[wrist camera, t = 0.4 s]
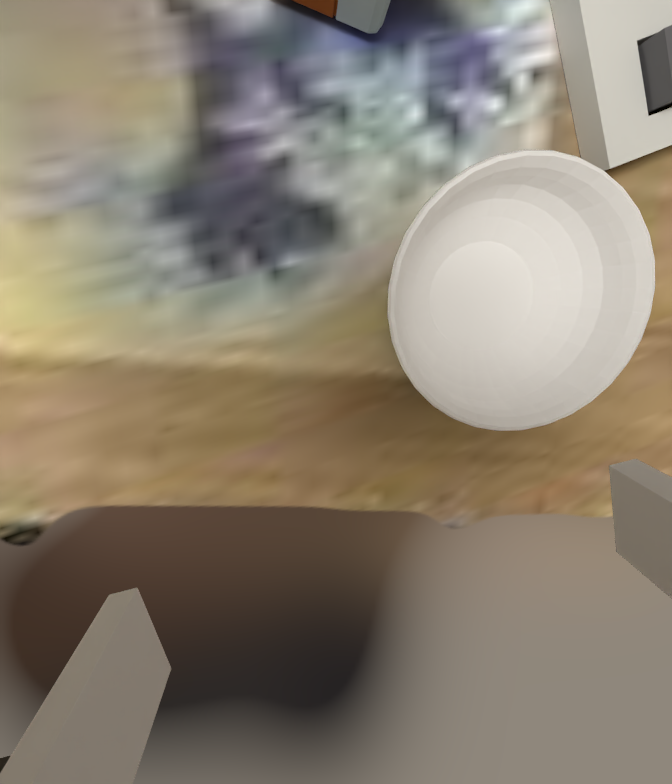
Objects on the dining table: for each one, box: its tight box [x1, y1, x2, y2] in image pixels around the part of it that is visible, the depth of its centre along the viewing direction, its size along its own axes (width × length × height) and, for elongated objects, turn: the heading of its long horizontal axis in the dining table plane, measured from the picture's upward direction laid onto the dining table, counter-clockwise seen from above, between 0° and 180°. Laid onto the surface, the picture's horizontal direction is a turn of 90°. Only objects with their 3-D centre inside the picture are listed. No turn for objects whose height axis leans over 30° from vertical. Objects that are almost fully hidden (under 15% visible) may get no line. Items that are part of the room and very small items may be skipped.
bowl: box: [388, 150, 655, 431], centre depth 34 cm, size 19×19×8 cm
